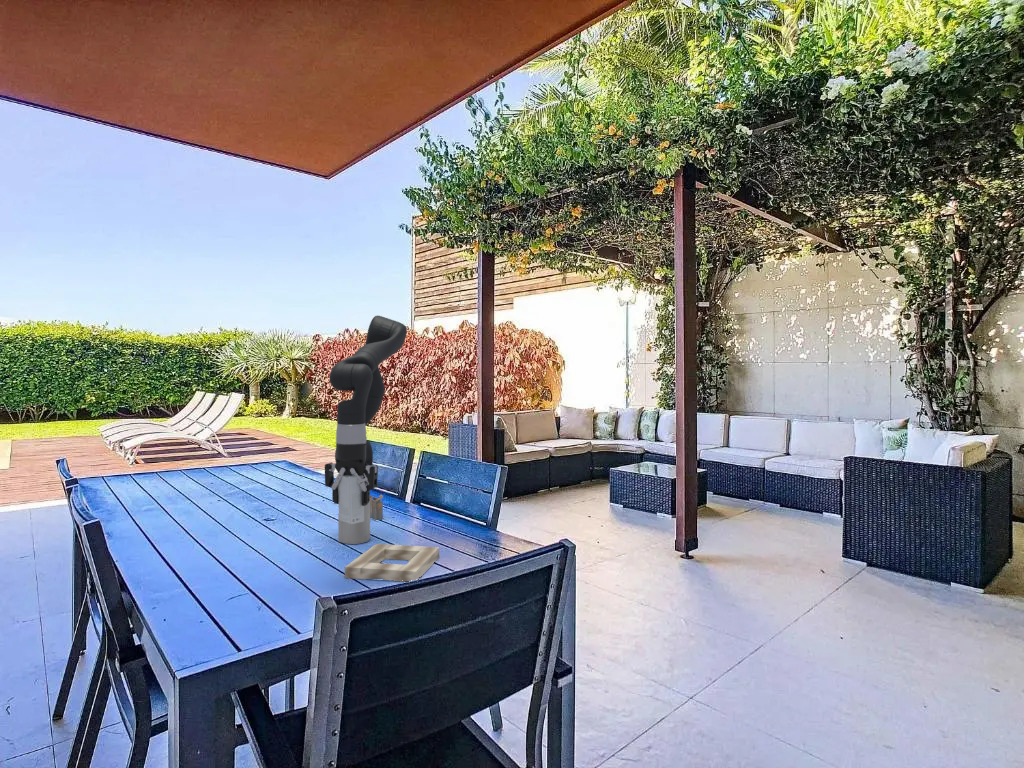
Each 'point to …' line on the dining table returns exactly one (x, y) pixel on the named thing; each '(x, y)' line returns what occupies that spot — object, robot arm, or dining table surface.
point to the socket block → (373, 569)
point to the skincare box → (350, 500)
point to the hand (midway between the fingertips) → (351, 504)
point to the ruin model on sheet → (376, 508)
